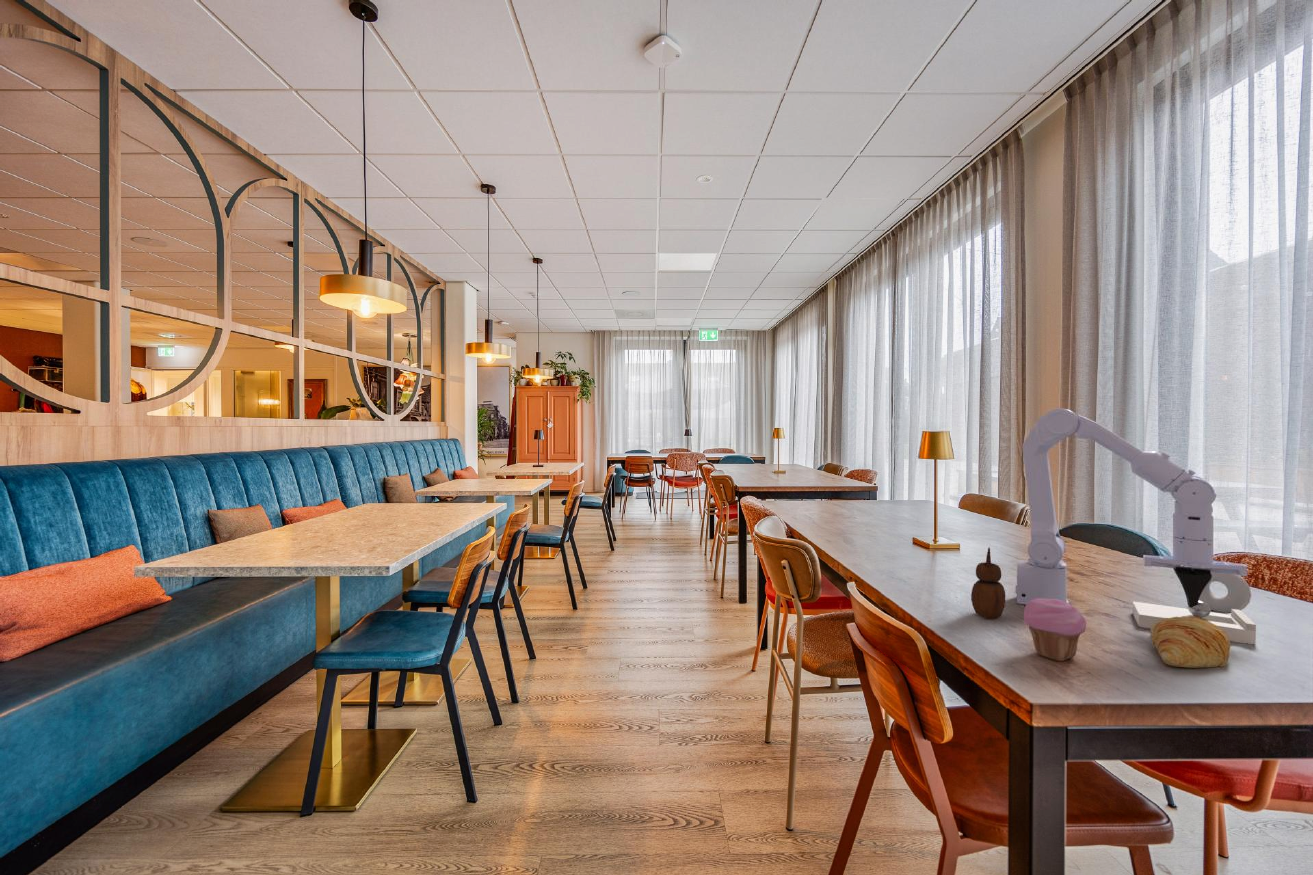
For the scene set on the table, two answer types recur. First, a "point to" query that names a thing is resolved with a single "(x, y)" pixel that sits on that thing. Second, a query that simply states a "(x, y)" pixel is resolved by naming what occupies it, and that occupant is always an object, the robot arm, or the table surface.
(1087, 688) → the table surface
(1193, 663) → the croissant
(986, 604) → the wooden figurine
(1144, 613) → the board
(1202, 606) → the ball
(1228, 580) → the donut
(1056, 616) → the cupcake
